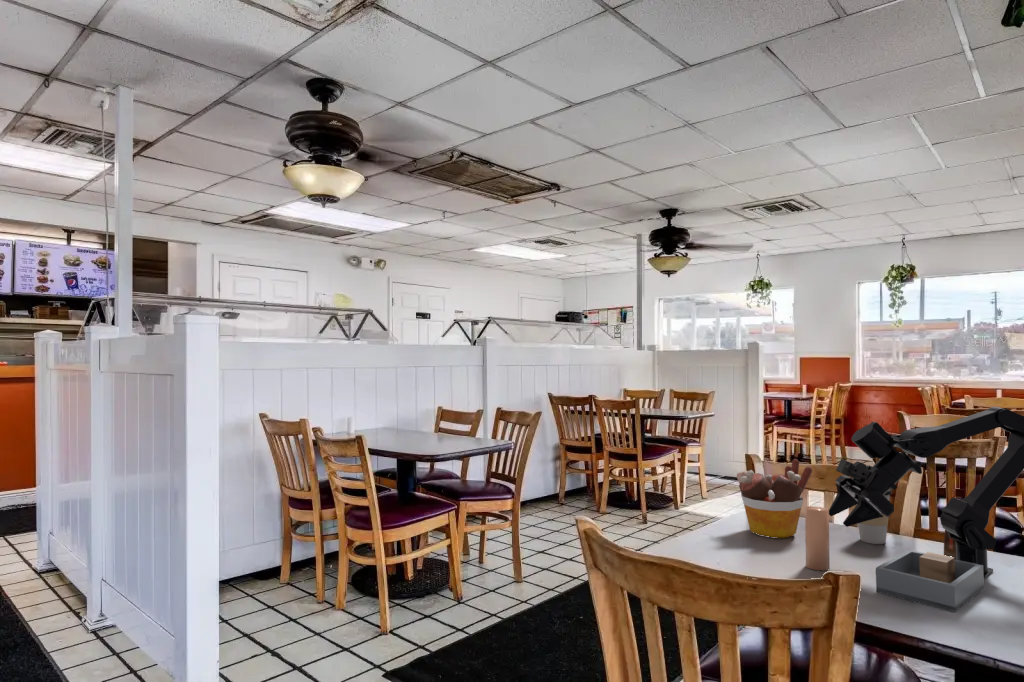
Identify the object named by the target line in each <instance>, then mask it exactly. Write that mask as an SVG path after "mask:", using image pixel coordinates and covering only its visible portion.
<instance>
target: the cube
mask: <svg viewBox="0 0 1024 682" xmlns="http://www.w3.org/2000/svg"><path fill="white" fill-rule="evenodd" d="M924 553H925V554H923V555H922V556H920V557H919V563H920V577H924V578H929V579H933V580H937V581H941V582H946V583H952V582H953V581H954V580H955V560H956V559H955V558H956V557H950V556H945V555H944V554H939V553H935V552H929V551H927V552H924Z"/></svg>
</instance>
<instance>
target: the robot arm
mask: <svg viewBox="0 0 1024 682" xmlns="http://www.w3.org/2000/svg"><path fill="white" fill-rule="evenodd" d="M998 428H1000V429H1002V430H1004V431H1005V432H1009V436H1008V442H1007V447H1006V449H1005V450H1004V451H1003V452H1002V454H1001V455H1000V456H999V458H998V459H997V460H996V461H995V462H994V464H993V465H992V466H991V467H990V469H988V470H987V472H986V473H985V474H984V475H983V477H982V478H981V479H980V480H979V481H978V483H977V484H976V485H975V487H974V488H973V489H972V490H971V491H970V493H968V495H966V496H965V497H963V498H961V499H960V498H956V497H954V496H953V497H951V498H950V499H949V501H948V503H947V504H946V506H944V507H943V508H941V509H940V511H941V512H942V513H941V514H940V516H939V520H940V525H941V526H942V528H943V529H944V531H945V530H946V531H947V532H948V534H949V536H950V538H952V539H954V540H956V557H955V558H956V559H955V560H960V561H965V562H970V563H975V564H980V565H983V574H984V578H986V577H988V576H989V575H990V574H991V573H993V572H994V568H991V567H988V564H989V563H988V550H994V549H995V547H996V544H997V539H996V538H994V536H992V535H991V533H989V532H988V531H987V530H986V528H987V526H988V524H989V519H990V511H991V510H992V508H993V507H995V504H997V502H998V501H999V500H1000V498H1002V496H1003V495H1004V494H1005V492H1006V491H1007V490H1009V488H1010V486H1011V485H1012V484H1013V483H1014V481H1015V480H1016V479H1018V477H1019V475H1020V474H1021V473H1022V472H1023V471H1024V415H1023V414H1019V413H1017V412H1015V411H1012V410H1011V409H1008V408H1004V407H997V406H991V407H989V408H987V409H986V410H983V411H980V412H977V413H974V414H971V415H968V416H965V417H964V416H963V417H962V418H958V419H956V420H952V421H950V422H947V423H943V424H941V425H936V426H928V427H927V426H925V427H916V428H910V429H906V430H904V431H902V432H901V433H900V434H895V435H890V434H889V433H888V431H886V430H884V429H883V427H882V426H881V425H880V424H879V423H878V422H876V421H871V422H870V423H869V424H867V425H864V426H863V427H861V428H859V429H857V430H856V431H855V432H854V433H853V434H852V436H851V441H852V443H854V444H855V445H856V446H857V447H858V448H859V449H860V450H861V451H863V453H864V454H865V455H866V456H868V457H869V459H878V461H877V462H876V463H875V464H873V466H872V465H867V464H866V463H863V462H860V461H858V460H857V461H856V462H854V463H852V462H850V461H848V460H845V459H843V458H841V459H840V460H839V463H838V464H837V467H836V469H835V471H836V472H838V473H840V474H841V475H839V476H838V477H837V478H836V479H835V481H834V482H835V486H836V491H837V493H836V496H835V498H833V499H834V500H833V501H832V503H831V505H830V508H829V517H832V516H835V515H837V514H841V512H844V511H846V510H848V509H850V508H852V507H854V508H853V509H852V510H851V512H850V513H849V514H848V515H847V517H846V518H845V519H844V521H843V522H842V525H844V526H845V527H852V526H854V525H858V523H861V522H864V521H868V520H872V519H876V518H880V517H881V518H882V517H884V516H883V515H885V516H887V517H890V516H891V515H892V514H893V513H894V512H895V506H894V504H893V503H892V502H891V501H890V499H889V500H888V499H887V498H886V497H884V496H883V495H884V494H885V493H886V492H887V491H888V490H889V489H891V490H896V489H897V488H898V486H897V485H896V484H897V483H898V482H899V481H900V480H901V479H902V478H903V477H905V475H906V474H908V472H909V471H911V472H913V473H916V474H919V475H921V474H922V473H923V471H922V461H919V460H917V459H913V458H912V457H910V456H909V455H912V456H915V457H919V458H922V459H923V458H924V459H925V458H930V457H933V456H934V455H936V454H938V453H940V452H941V451H943V450H944V449H945V448H947V447H948V446H949V445H951V444H953V443H956V442H958V441H959V442H960V441H961V440H963V439H967V438H970V437H974V436H976V435H979V434H982V433H985V432H988V431H989V432H990V431H992V430H995V429H998ZM895 447H896V448H899V449H901V450H902V451H899V450H897V449H896V448H895ZM908 454H909V455H908ZM855 499H856V500H858V502H857V501H856V500H855ZM856 504H857V506H856V507H855V505H856ZM881 513H882V514H883V515H882V514H881Z"/></svg>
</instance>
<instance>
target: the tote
mask: <svg viewBox="0 0 1024 682" xmlns="http://www.w3.org/2000/svg"><path fill="white" fill-rule="evenodd" d="M925 553H926V552H921V551H917V550H911V549H908V550H906V551H904V552H902V553H899V554H898V555H896V556H895V557H893V558H891V559H889V560H887V561H886V562H884V563H883V562H882V564H880V565H879V566H877V567H876V566H875V586H876V587H875V589H876V590H875V591H876V593H878V594H879V593H880V594H882V595H887V596H892V597H895V598H897V599H902V600H906V601H909V602H914V603H917V604H922V605H925V606H929V607H931V608H932V607H933V608H937V609H940V610H944V611H947V612H948V611H949V612H952V613H956V612H958V611H959V610H960V609H962V608H963V607H964V606H965V605H967V602H968V603H969V602H971V600H973V599H974V598H975V597H976V596H978V595H979V594H980V593H981V592H982V590H983V591H984V590H985V582H984V581H985V577H984V574H983V565H980V564H975V563H970V562H965V561H960V560H956V559H955V580H954V581H953V582H952V583H946V582H941V581H937V580H933V579H929V578H924V577H920V563H919V557H920V556H922V555H923V554H925ZM977 594H978V595H977ZM972 598H973V599H972Z"/></svg>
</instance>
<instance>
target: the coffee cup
mask: <svg viewBox="0 0 1024 682" xmlns="http://www.w3.org/2000/svg"><path fill="white" fill-rule="evenodd" d="M892 490H893V489H891V488H890V489H889V490H888V491H887V492H886V493H885V494H884V495H883V496H884V497H886V498H887V499H888V500H889V501H890V497H891V495H893V492H892ZM855 500H856V499H855ZM856 501H857V502H858V500H856ZM856 506H857V504H856V505H854V508H855V507H856ZM881 514H882V513H881ZM882 515H883V514H882ZM883 516H884V517H882V518H881V517H880V518H876V519H872V520H868V521H864V522H861V523H858V524H857V526H858V533H859V539H860V541H862V542H864V543H867V544H870V545H871V544H872V545H882V544H885V543H886V541H887V531H888V525H889V517H890V516H889V517H887V516H885V515H883Z"/></svg>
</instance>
